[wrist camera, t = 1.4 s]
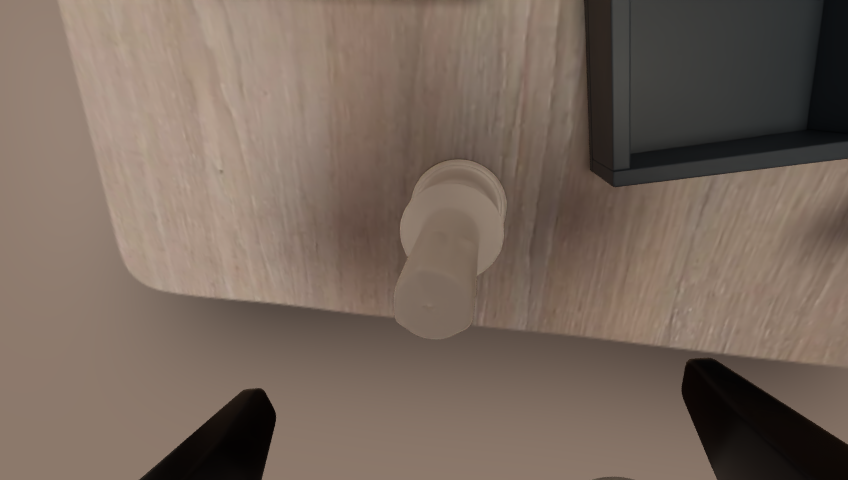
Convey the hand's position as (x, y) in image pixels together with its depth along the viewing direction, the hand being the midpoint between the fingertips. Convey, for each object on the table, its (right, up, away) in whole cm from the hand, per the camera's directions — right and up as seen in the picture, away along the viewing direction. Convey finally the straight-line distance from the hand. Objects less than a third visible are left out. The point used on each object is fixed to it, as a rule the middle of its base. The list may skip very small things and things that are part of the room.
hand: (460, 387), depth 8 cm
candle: (+1, +5, +14) cm, 15 cm away
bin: (+12, +12, +10) cm, 19 cm away
